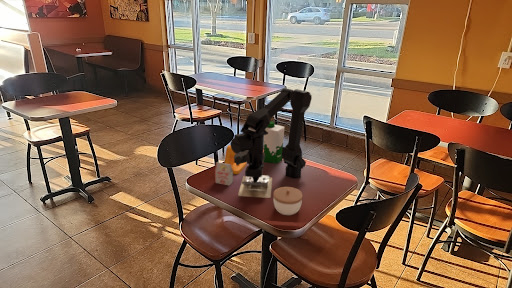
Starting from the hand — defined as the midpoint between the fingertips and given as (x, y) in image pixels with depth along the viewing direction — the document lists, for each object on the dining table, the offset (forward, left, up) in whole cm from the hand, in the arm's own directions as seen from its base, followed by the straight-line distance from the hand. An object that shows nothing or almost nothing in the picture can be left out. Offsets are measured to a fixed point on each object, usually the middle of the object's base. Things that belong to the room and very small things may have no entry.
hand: (255, 182), depth 131 cm
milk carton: (-6, -33, -6) cm, 34 cm away
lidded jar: (-13, +11, -6) cm, 18 cm away
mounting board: (0, -5, -6) cm, 7 cm away
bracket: (+11, -21, -6) cm, 25 cm away
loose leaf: (0, -1, -2) cm, 3 cm away
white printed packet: (+14, -7, -6) cm, 17 cm away
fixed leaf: (0, -9, -4) cm, 10 cm away
